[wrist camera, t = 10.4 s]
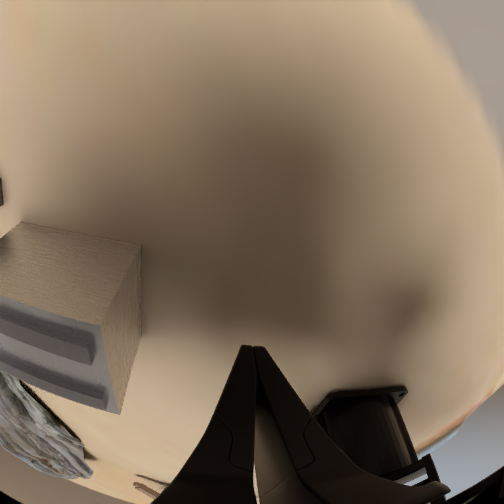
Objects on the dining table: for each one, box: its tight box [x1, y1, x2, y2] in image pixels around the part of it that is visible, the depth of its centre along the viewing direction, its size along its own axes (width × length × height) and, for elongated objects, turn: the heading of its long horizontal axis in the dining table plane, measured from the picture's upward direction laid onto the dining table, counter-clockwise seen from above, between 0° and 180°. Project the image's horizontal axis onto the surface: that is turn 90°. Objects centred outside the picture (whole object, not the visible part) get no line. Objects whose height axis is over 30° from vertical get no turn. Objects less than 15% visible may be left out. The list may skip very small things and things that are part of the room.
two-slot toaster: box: [0, 222, 141, 415], centre depth 9 cm, size 6×5×5 cm
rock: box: [0, 370, 93, 479], centre depth 16 cm, size 23×7×15 cm
